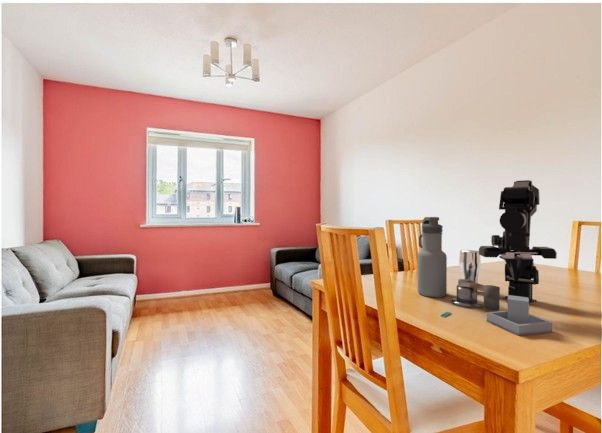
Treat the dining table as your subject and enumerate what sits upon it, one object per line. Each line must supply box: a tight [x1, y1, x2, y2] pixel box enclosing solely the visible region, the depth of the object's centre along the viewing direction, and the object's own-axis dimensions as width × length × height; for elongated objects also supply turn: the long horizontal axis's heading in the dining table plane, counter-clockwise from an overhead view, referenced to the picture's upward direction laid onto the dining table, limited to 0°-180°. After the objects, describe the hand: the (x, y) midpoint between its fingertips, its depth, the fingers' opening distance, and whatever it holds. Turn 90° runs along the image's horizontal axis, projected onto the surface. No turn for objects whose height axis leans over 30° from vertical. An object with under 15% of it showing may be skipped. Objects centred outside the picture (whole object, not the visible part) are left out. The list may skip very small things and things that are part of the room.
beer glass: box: [458, 249, 481, 294], centre depth 118 cm, size 7×7×15 cm
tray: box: [486, 309, 553, 337], centre depth 83 cm, size 10×10×2 cm
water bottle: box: [416, 216, 448, 298], centre depth 115 cm, size 10×10×28 cm
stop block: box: [507, 294, 530, 324], centre depth 83 cm, size 4×4×7 cm
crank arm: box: [457, 278, 501, 312], centre depth 98 cm, size 14×5×6 cm, turn 13°
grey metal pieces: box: [440, 284, 484, 318], centre depth 100 cm, size 20×14×6 cm
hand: (515, 280), depth 95 cm, fingers closed
